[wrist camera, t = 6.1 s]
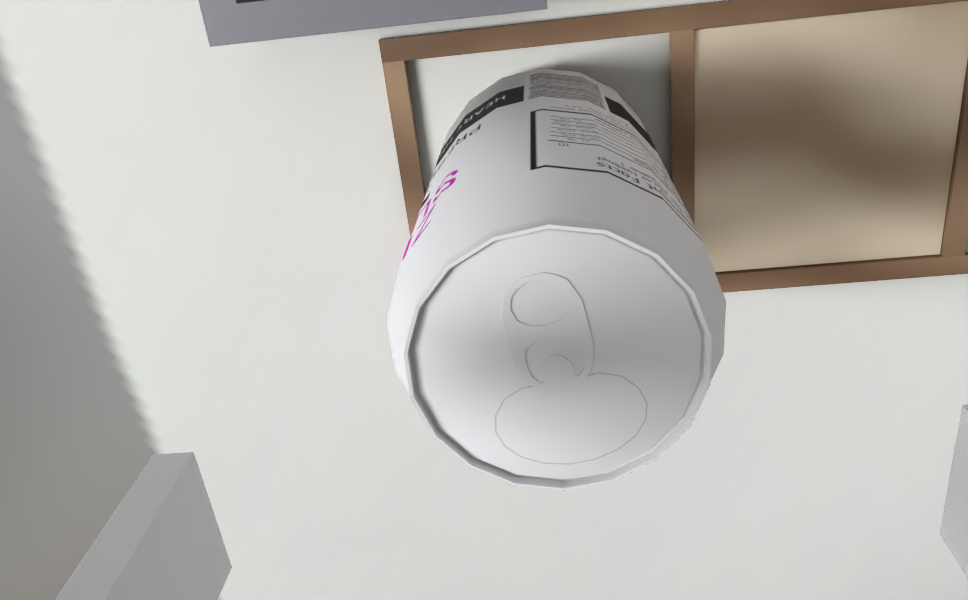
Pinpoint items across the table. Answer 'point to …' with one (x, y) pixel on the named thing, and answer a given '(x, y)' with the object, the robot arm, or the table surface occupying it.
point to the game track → (783, 130)
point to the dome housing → (336, 16)
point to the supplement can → (554, 290)
